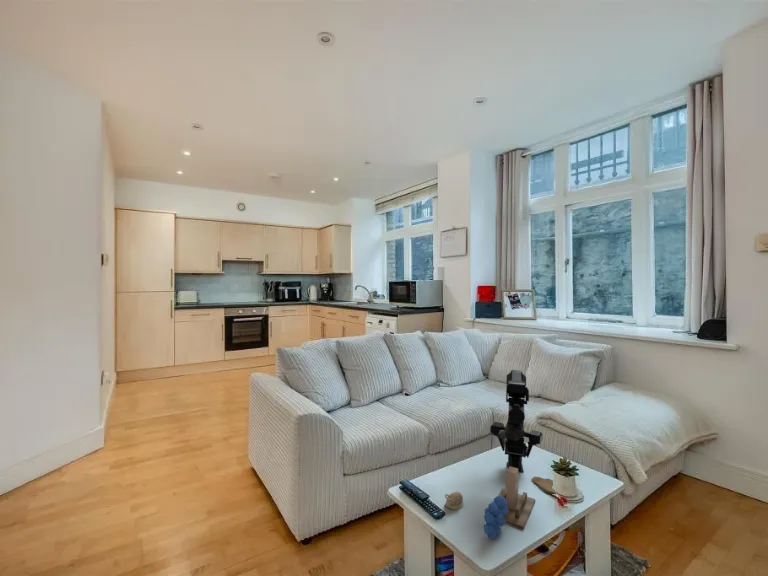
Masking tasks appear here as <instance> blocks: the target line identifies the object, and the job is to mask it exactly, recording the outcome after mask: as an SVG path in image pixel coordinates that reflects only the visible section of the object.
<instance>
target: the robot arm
mask: <svg viewBox="0 0 768 576" xmlns="http://www.w3.org/2000/svg"><path fill="white" fill-rule="evenodd" d="M505 383H506V388H505V389H506V391H505V392H506V393H505V402H506V403H508V410H507V411H508V413H507V416H508V417H507V422H506V425H505V424H504V422H503V423H502V422H498V421H493V423H492V424H491V425H490V428H489V432H490V433H491V434H493V435H494V437H496V438H497V439H498V441H499V445H500V447H501V450H502V452H504V455H507V462H506V469H507V470H508V468H509V466H511V467H514V468H518V473H524V465H523V458H524V459H525V458H527V459H528V458H529V457H530V454H531V452H532V450H533V447H534V446H537V445H540V444H541V443H542V441H543V438H544V437H543V436H544V434H543V433H542V432H541V431H539V430H535V429H534V430H533V429H531V430H530V432H528V431H525V417H526V414H525V413H526V412H525V405H528V402H530V391H529V389H528V386H527V376H526V375H525V374H523V370H521V369H520V370H519V369H510V372H509V373H507V374H506V382H505ZM525 438H527V439H528V442H527V443H526V442H525ZM507 470H506V471H507Z"/></svg>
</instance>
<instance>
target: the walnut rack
mask: <svg viewBox="0 0 768 576" xmlns="http://www.w3.org/2000/svg"><path fill="white" fill-rule="evenodd" d="M497 496H501V497H505V499H506V487H505V488H501V489H500V492H499V493H498V494H497ZM535 503H536V499H535V498H534V497H529V496H528V492H525V491H523V492H522V494H521V493H518V504H517V506H516V508H515V510H512V509H509V508H508V513H507V514H506V515H503V516H504V517H505V520H506V524H508V525H509V526H512V527H515V528H517V529H520V530H524V529H525V528H526V525H527V522H528V520H529V518H530V516H531V514H532V512H533V511H532V510H533V508H534V506H535Z"/></svg>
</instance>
